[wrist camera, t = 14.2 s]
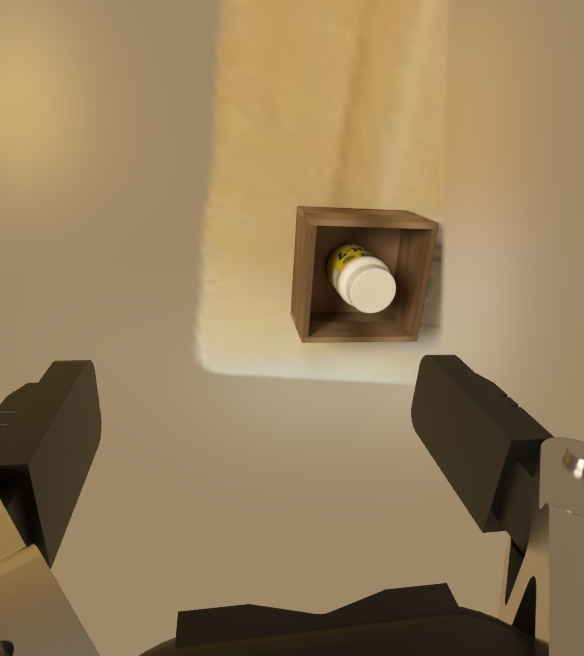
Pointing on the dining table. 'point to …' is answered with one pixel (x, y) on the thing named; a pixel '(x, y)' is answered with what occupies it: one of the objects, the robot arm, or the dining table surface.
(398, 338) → the wooden box
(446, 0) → the dining table surface
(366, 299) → the supplement bottle
